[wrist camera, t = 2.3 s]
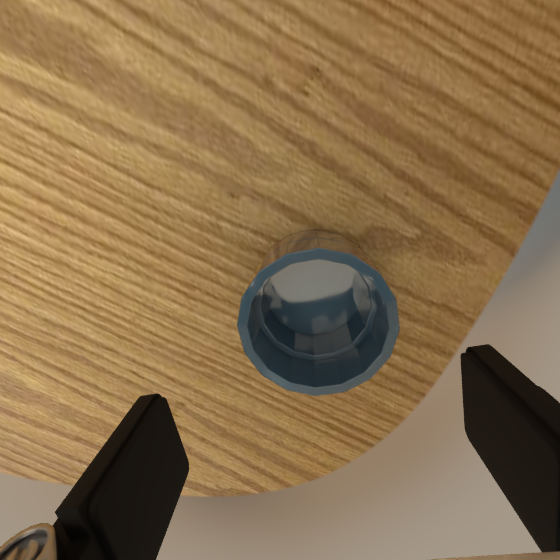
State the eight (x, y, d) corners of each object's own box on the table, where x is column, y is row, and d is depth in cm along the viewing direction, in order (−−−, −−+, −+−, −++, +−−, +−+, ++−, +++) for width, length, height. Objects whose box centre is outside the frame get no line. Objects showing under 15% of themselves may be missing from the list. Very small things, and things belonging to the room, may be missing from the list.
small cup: (366, 218, 19) (389, 234, 14) (380, 332, 21) (406, 384, 16) (242, 242, 20) (220, 266, 15) (268, 349, 22) (257, 403, 17)
